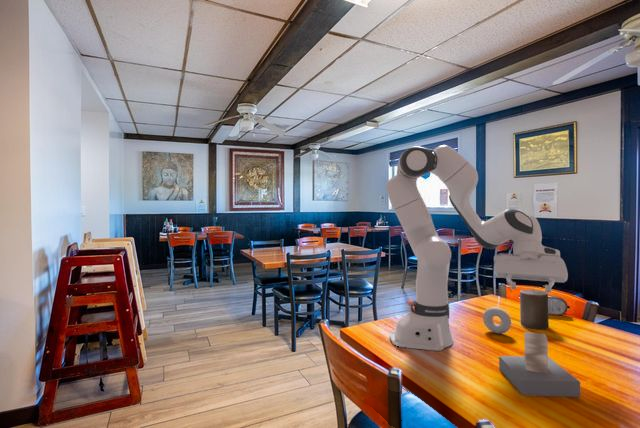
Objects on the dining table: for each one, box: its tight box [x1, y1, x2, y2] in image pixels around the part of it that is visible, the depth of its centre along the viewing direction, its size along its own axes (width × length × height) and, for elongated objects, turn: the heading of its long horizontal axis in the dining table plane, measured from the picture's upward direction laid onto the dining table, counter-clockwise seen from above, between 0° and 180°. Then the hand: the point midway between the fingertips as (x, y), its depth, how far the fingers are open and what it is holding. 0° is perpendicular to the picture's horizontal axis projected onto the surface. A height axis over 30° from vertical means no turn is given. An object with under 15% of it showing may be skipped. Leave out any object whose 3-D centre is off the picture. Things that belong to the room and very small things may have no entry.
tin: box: [548, 294, 568, 316], centre depth 148 cm, size 15×3×8 cm, turn 58°
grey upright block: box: [523, 331, 549, 374], centre depth 92 cm, size 5×5×9 cm
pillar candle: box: [519, 288, 550, 331], centre depth 135 cm, size 10×10×15 cm
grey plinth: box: [498, 355, 581, 398], centre depth 92 cm, size 14×14×4 cm
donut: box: [482, 306, 512, 335], centre depth 128 cm, size 10×4×10 cm, turn 45°
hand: (530, 289), depth 105 cm, fingers open, 8 cm apart
